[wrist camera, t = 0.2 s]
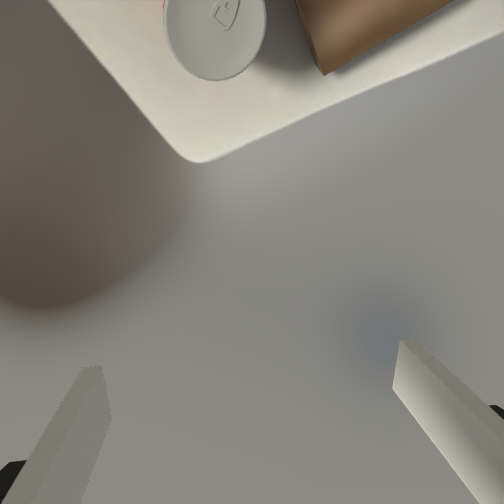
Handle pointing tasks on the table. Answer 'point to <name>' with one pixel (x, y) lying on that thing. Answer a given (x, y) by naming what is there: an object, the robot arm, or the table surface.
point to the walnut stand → (356, 25)
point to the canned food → (215, 35)
